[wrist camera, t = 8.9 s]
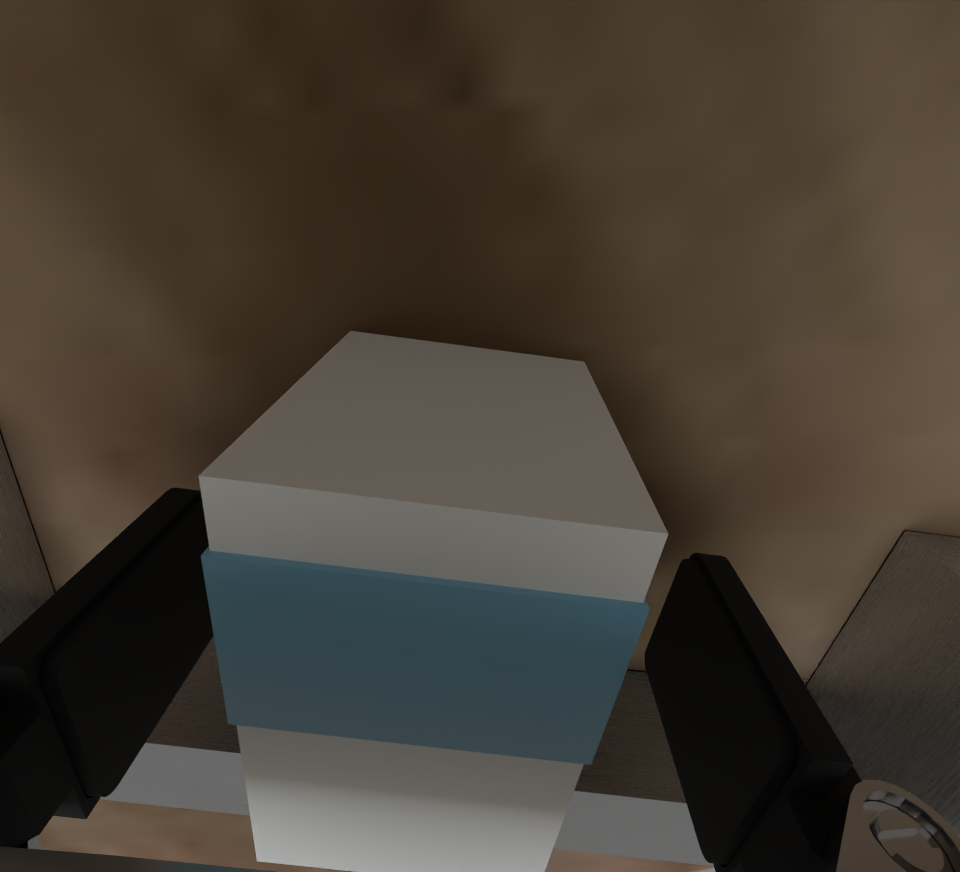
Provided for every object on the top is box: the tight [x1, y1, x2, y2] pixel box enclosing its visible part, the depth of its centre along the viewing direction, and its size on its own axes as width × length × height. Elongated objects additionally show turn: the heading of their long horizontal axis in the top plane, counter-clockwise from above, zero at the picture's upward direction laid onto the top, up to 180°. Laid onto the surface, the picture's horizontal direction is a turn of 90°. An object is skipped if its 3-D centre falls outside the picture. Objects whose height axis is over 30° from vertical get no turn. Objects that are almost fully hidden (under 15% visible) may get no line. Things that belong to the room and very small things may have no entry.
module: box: [199, 331, 668, 872], centre depth 10 cm, size 8×5×6 cm, turn 173°
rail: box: [0, 435, 960, 866], centre depth 12 cm, size 9×26×5 cm, turn 83°
